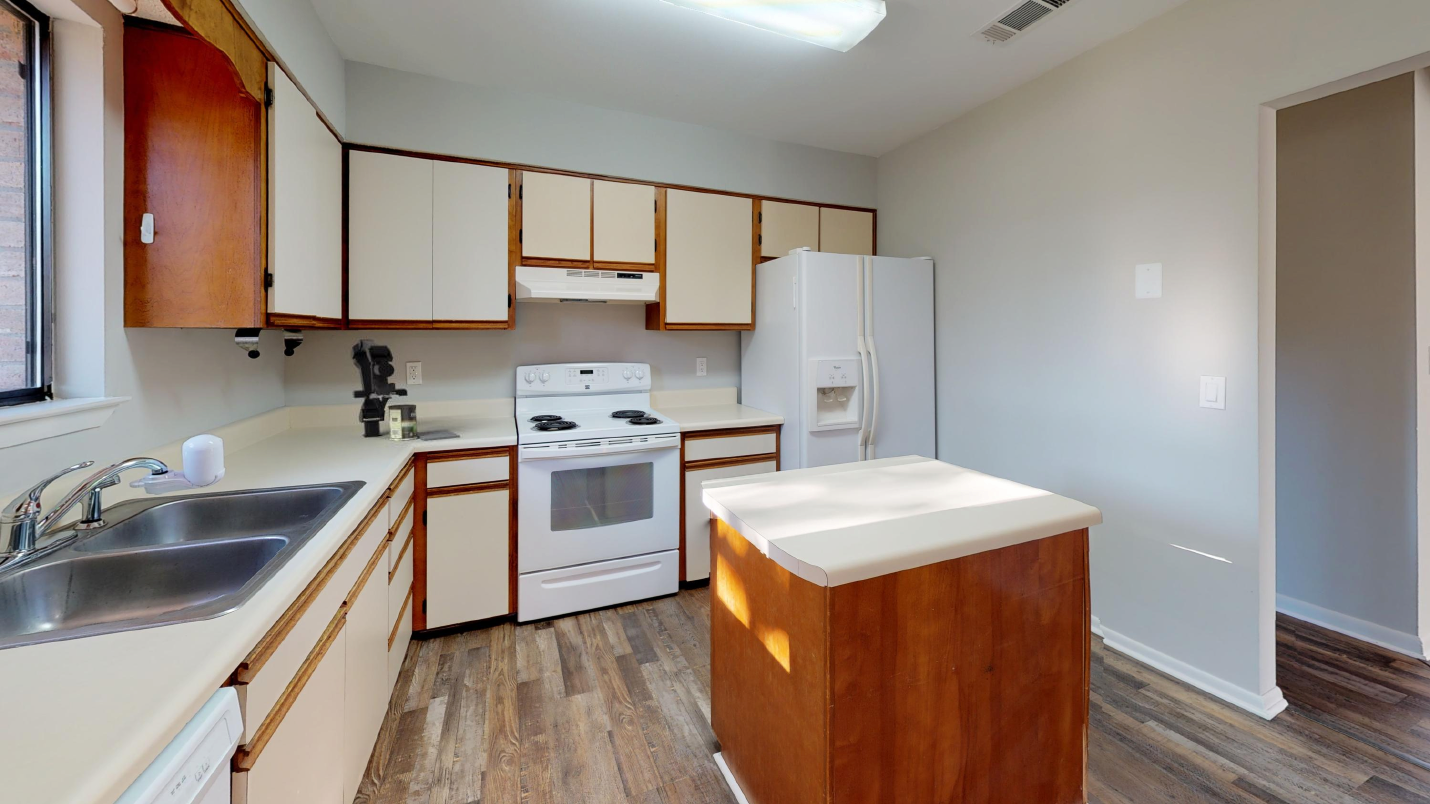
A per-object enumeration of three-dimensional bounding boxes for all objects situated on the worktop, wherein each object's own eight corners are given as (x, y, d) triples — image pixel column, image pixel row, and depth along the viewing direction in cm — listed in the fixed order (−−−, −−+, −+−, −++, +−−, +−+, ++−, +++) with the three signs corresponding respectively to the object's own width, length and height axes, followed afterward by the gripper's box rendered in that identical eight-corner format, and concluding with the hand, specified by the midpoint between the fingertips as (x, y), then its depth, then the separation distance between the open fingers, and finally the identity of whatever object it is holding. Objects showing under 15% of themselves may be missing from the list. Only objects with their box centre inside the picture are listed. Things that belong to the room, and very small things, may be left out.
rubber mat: (412, 434, 246) (412, 432, 246) (447, 431, 255) (447, 429, 255) (423, 440, 231) (423, 438, 231) (459, 437, 240) (459, 435, 240)
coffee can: (419, 436, 242) (418, 403, 240) (415, 440, 232) (413, 406, 231) (392, 437, 239) (391, 404, 237) (386, 441, 229) (385, 407, 227)
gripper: (355, 377, 216) (357, 418, 217) (409, 376, 227) (411, 414, 229) (351, 376, 224) (353, 415, 226) (403, 375, 236) (405, 411, 238)
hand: (381, 414), depth 229 cm, fingers closed
